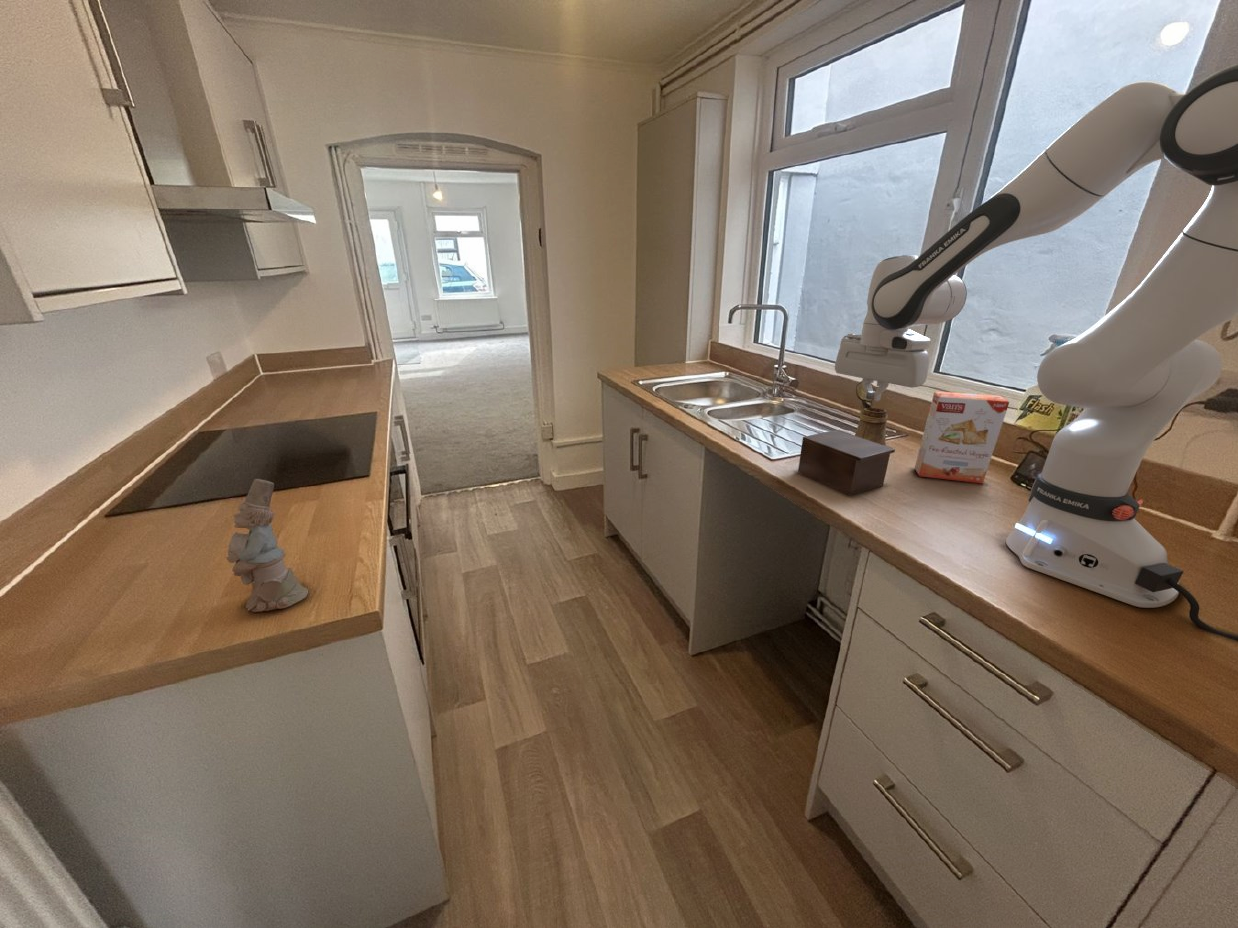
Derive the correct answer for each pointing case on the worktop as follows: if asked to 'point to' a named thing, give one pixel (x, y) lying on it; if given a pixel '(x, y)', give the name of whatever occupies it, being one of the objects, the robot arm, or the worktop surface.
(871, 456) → the lid
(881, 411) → the wooden mug
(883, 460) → the chest
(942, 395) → the cracker box
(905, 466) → the worktop surface
